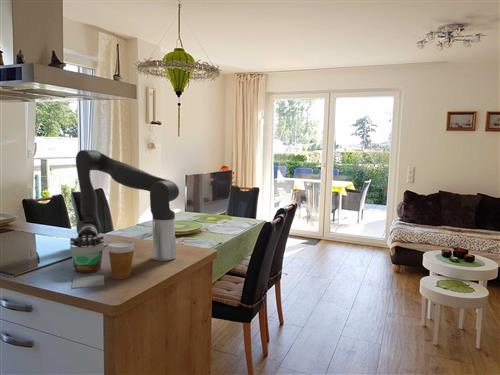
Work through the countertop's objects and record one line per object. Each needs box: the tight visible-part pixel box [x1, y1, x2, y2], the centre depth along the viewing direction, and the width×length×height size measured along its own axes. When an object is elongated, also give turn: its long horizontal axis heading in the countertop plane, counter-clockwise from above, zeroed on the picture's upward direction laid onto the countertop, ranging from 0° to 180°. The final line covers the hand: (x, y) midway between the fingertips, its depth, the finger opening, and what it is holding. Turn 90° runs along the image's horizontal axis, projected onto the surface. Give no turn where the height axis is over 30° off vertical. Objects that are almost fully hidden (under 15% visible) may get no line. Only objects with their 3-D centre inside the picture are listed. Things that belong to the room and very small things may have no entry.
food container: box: [69, 243, 105, 275], centre depth 139 cm, size 12×6×10 cm, turn 105°
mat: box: [71, 274, 105, 290], centre depth 130 cm, size 10×10×1 cm
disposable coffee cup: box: [107, 240, 136, 280], centre depth 136 cm, size 10×10×12 cm
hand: (86, 246), depth 142 cm, fingers closed
